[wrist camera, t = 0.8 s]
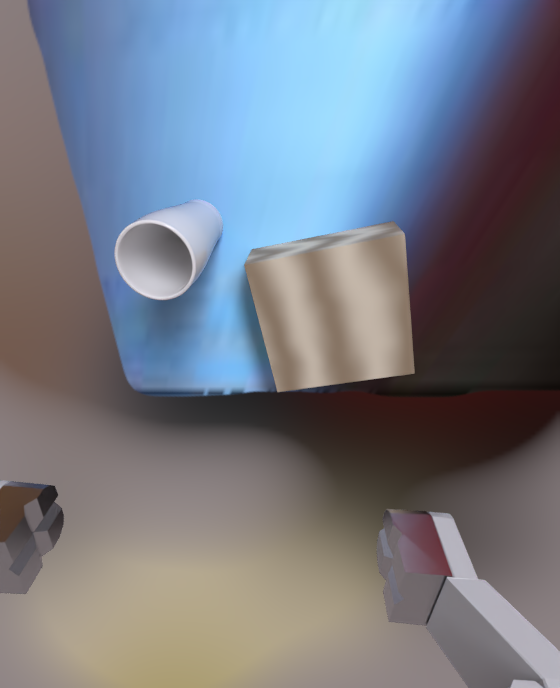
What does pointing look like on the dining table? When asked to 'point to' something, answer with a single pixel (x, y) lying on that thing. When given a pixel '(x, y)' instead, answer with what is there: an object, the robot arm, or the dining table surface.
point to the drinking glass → (168, 248)
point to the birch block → (334, 307)
